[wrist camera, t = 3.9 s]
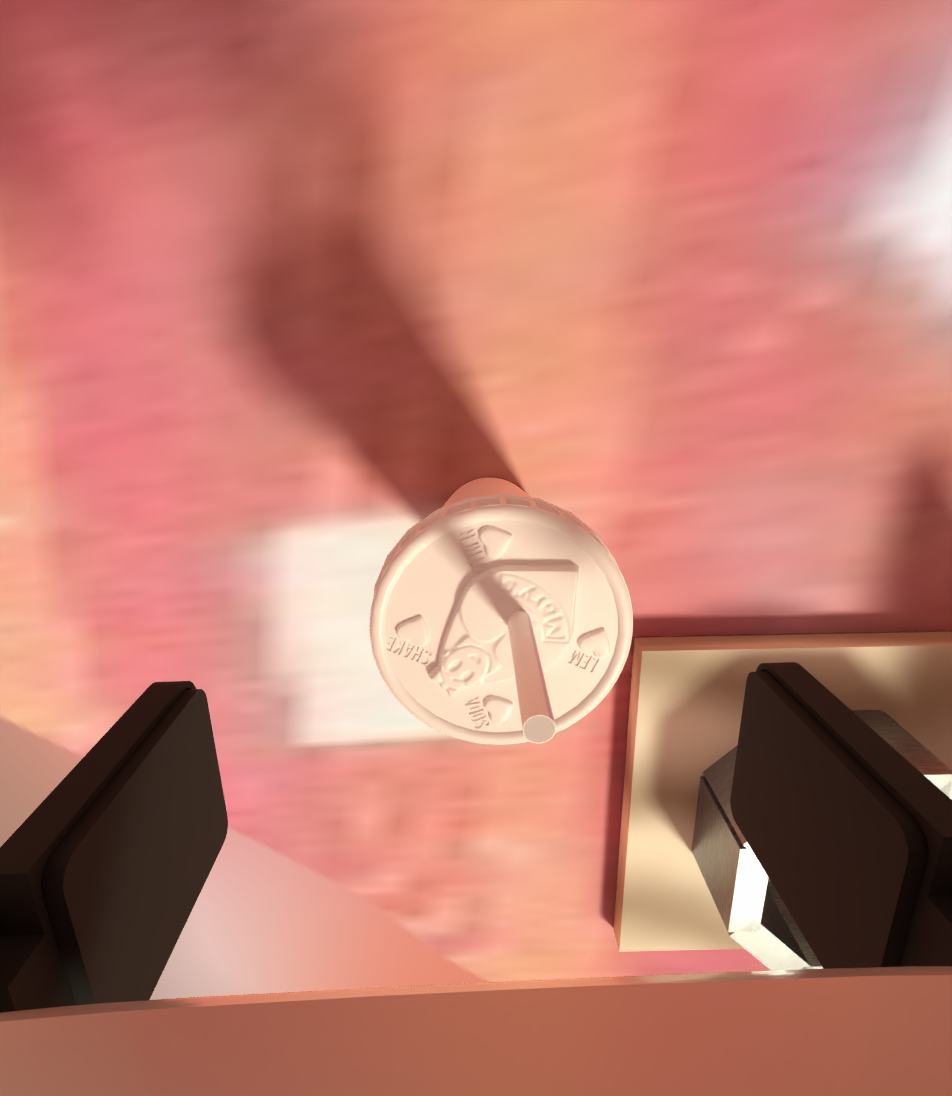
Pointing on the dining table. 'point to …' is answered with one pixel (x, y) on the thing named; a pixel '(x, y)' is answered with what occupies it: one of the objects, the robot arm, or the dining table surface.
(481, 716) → the smoothie
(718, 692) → the holder
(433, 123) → the dining table surface
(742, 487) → the dining table surface
